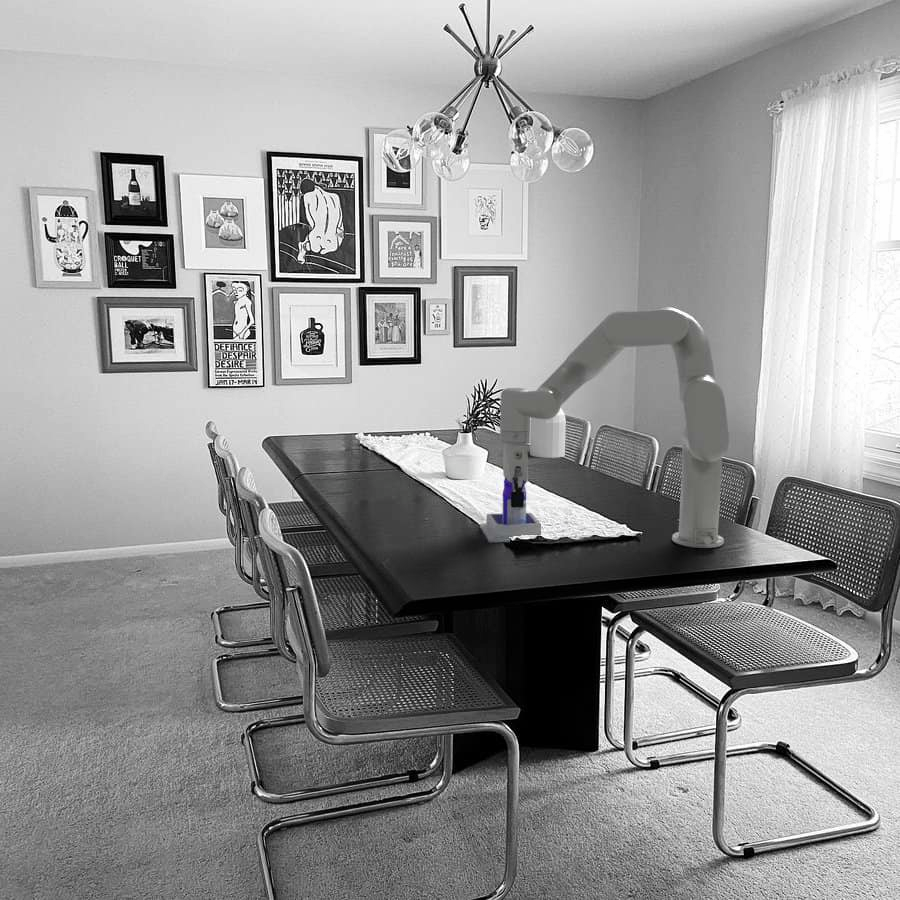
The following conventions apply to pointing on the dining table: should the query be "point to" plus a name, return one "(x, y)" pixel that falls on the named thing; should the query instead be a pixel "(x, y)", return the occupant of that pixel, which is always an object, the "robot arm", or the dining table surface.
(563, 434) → the container
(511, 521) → the bottle
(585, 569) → the dining table surface
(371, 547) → the dining table surface
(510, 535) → the shallow grey tray
